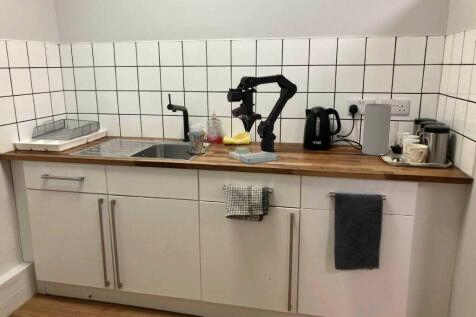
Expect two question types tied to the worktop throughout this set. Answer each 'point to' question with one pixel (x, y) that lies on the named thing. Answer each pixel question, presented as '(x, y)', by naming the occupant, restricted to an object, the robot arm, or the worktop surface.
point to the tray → (259, 159)
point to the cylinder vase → (376, 129)
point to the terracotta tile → (254, 149)
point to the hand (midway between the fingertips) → (247, 132)
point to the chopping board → (248, 155)
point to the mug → (196, 142)
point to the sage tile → (242, 150)
